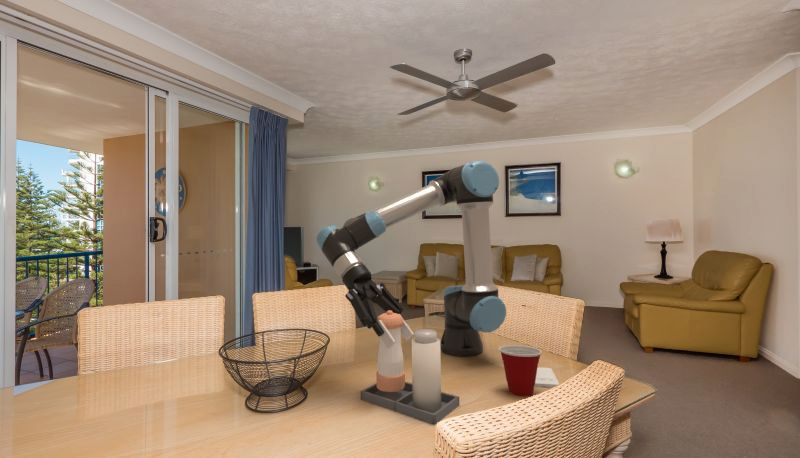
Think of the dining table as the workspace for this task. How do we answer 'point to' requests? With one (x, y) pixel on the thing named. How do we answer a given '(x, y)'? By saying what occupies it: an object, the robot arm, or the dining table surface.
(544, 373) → the external hard drive
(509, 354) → the plastic cup
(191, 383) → the dining table surface
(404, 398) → the shaker caddy
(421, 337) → the salt shaker
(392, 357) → the pepper shaker
